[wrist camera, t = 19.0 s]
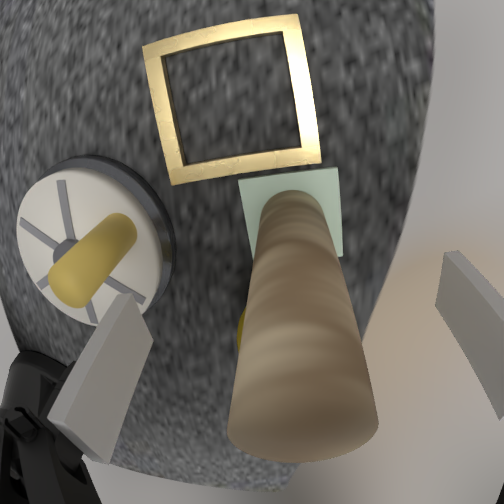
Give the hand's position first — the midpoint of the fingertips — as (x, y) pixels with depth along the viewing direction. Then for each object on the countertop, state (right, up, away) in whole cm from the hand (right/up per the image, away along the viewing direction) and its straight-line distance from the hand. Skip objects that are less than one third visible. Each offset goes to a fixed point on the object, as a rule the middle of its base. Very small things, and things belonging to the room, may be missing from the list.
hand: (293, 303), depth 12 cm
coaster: (+1, +4, +7) cm, 9 cm away
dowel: (+1, +4, +7) cm, 8 cm away
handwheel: (-13, +2, +8) cm, 16 cm away
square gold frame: (-3, +11, +4) cm, 12 cm away
